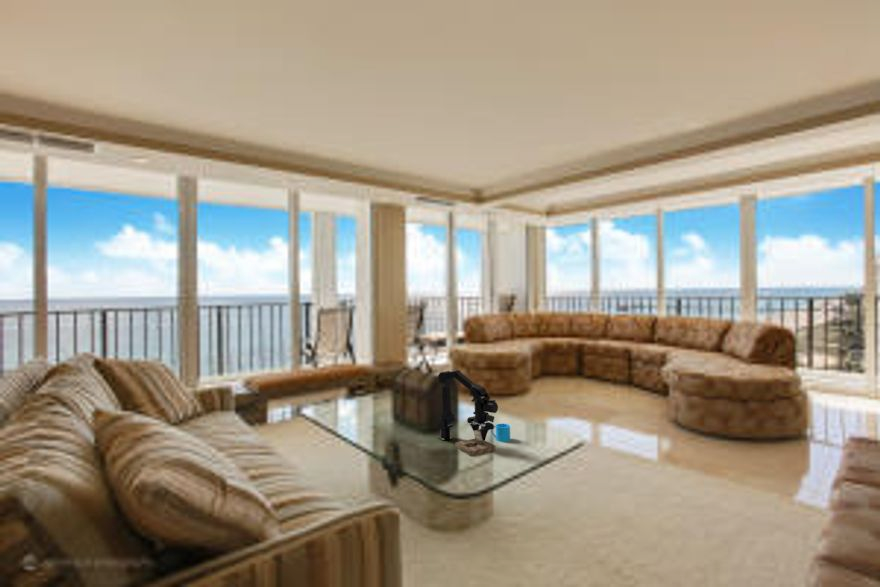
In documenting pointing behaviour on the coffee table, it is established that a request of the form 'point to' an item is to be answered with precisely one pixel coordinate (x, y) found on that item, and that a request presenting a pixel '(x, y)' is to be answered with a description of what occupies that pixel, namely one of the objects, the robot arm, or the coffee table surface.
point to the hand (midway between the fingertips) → (480, 438)
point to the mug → (502, 432)
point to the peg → (478, 437)
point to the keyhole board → (475, 447)
